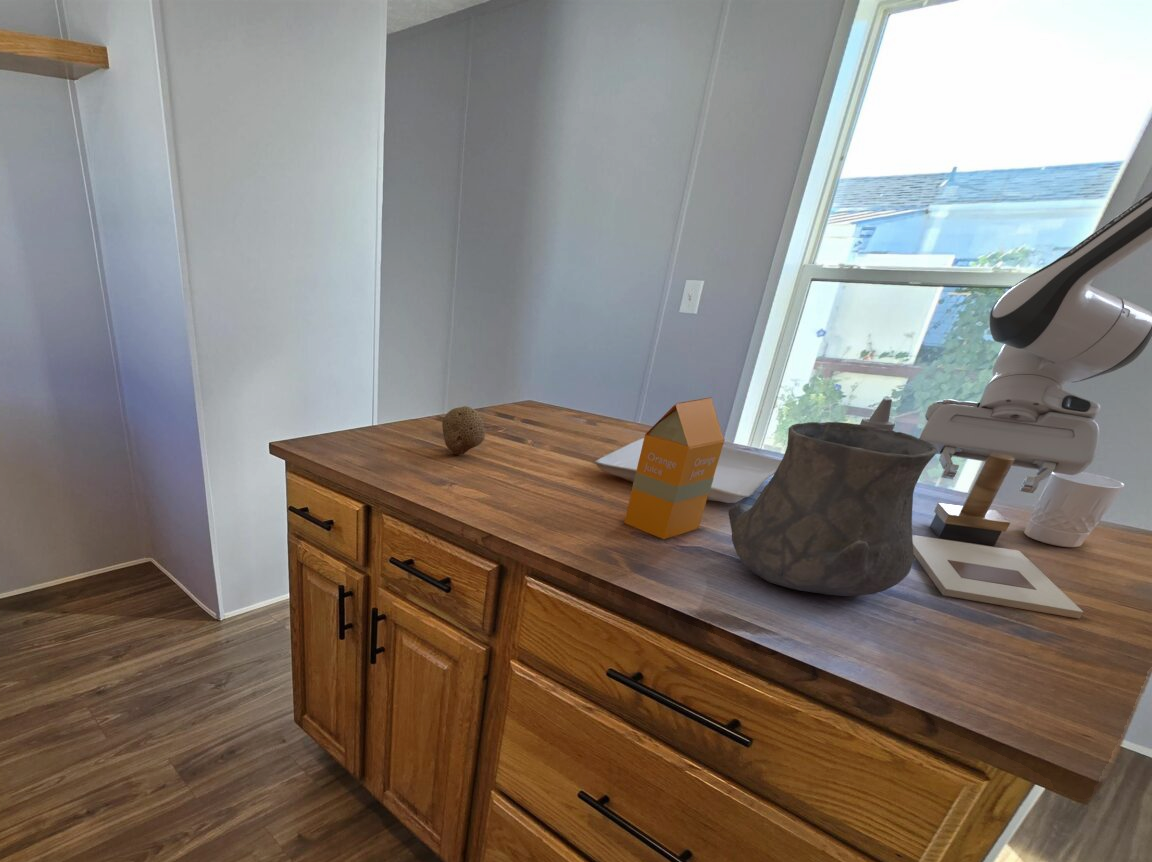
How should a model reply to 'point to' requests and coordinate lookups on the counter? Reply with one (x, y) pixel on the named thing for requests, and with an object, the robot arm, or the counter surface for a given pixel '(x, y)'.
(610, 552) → the counter surface
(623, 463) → the square plate
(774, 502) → the vessel
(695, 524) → the orange juice
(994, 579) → the cream rectangular board
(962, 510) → the scrub brush
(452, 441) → the natural sponge
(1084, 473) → the white cup
